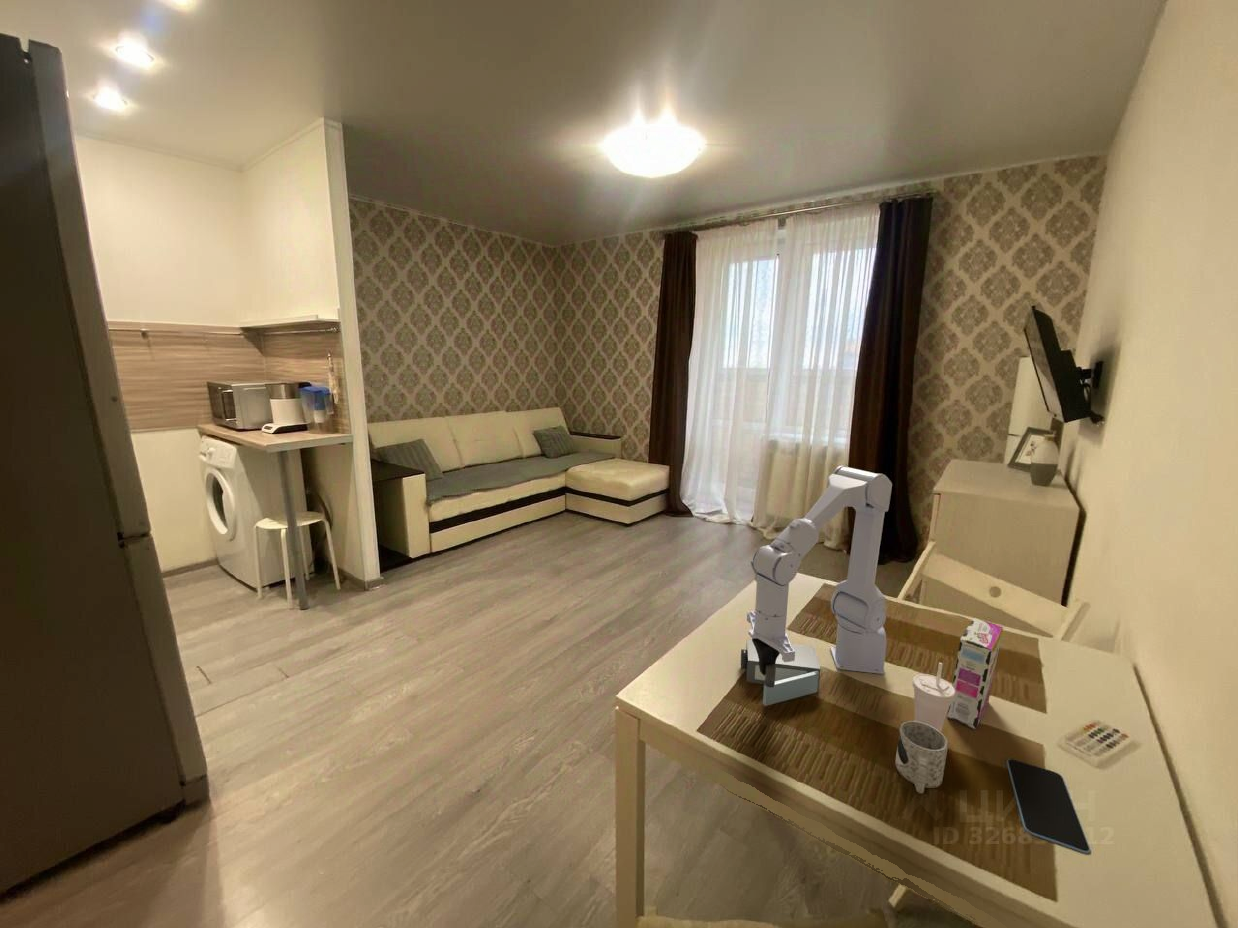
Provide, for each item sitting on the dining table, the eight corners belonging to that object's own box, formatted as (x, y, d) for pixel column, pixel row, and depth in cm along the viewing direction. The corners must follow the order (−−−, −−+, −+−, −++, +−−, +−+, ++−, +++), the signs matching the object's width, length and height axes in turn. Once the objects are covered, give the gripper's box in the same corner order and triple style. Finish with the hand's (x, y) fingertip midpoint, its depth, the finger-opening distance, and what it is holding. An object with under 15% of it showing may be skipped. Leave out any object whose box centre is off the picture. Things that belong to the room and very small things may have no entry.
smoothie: (954, 748, 86) (966, 676, 83) (913, 743, 87) (923, 672, 84) (939, 722, 92) (949, 654, 89) (901, 717, 93) (910, 650, 90)
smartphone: (1025, 830, 71) (1005, 755, 83) (1024, 835, 71) (1004, 760, 84) (1094, 854, 67) (1062, 772, 80) (1093, 859, 67) (1061, 777, 80)
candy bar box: (978, 731, 89) (992, 650, 86) (945, 717, 93) (958, 638, 89) (990, 701, 97) (1004, 625, 93) (960, 689, 100) (972, 615, 97)
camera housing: (812, 666, 108) (813, 646, 107) (818, 690, 100) (820, 668, 99) (740, 658, 111) (741, 638, 110) (741, 681, 103) (742, 659, 102)
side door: (813, 688, 101) (816, 651, 99) (819, 693, 99) (823, 656, 97) (761, 702, 97) (763, 664, 95) (766, 708, 95) (769, 669, 93)
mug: (895, 748, 86) (900, 715, 84) (941, 764, 82) (947, 729, 81) (893, 792, 77) (898, 755, 76) (944, 811, 74) (950, 773, 73)
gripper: (734, 593, 100) (731, 654, 103) (771, 632, 86) (766, 700, 89) (766, 589, 101) (762, 649, 104) (807, 627, 87) (801, 694, 90)
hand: (766, 672), depth 97 cm, fingers closed
